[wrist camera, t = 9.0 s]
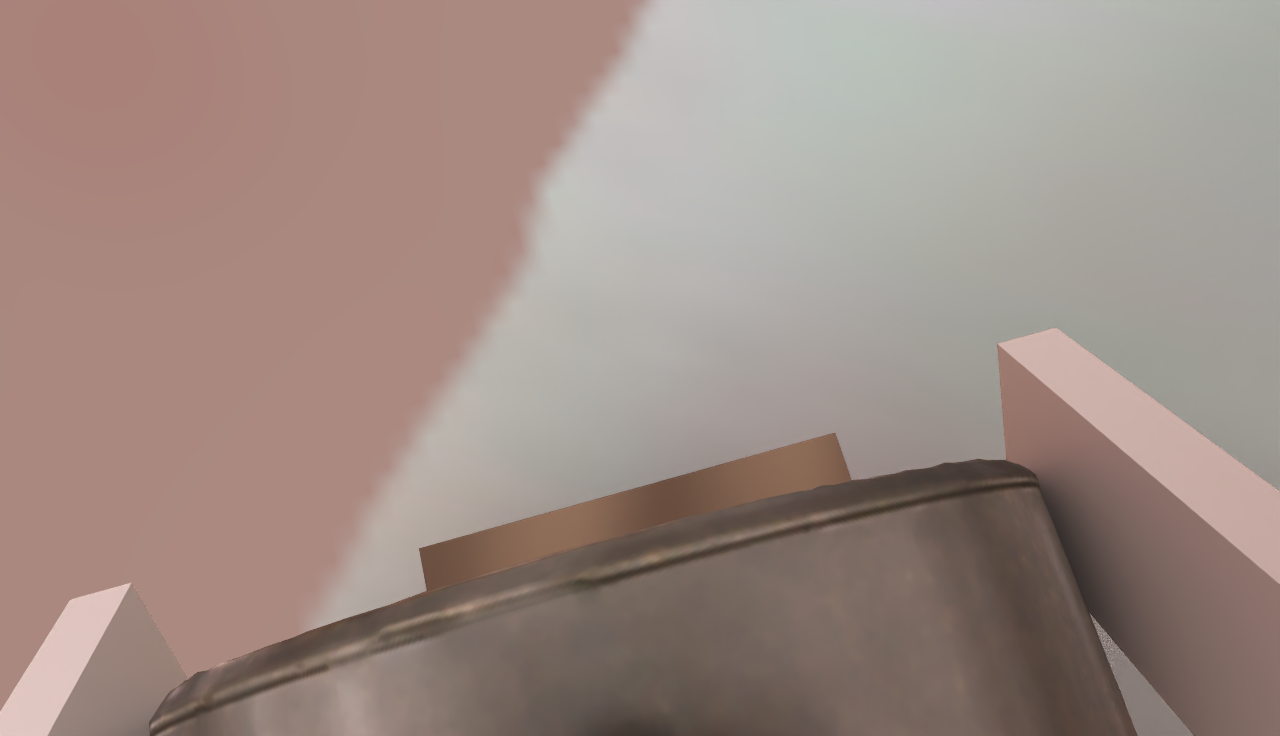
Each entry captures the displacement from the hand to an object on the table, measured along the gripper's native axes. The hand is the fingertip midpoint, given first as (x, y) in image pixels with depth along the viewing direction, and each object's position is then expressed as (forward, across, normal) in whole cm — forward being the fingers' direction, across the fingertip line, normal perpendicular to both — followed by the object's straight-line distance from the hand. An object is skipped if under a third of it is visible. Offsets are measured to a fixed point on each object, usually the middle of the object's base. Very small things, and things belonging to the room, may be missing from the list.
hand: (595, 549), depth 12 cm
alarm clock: (+3, 0, -7) cm, 8 cm away
